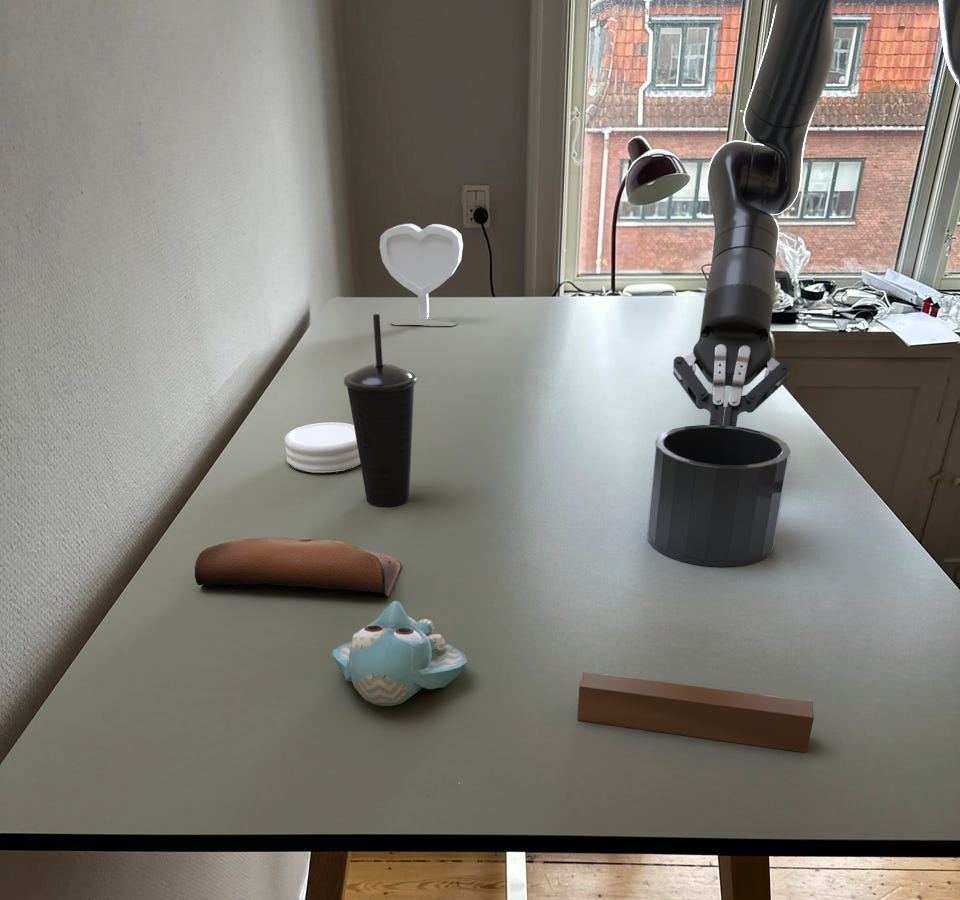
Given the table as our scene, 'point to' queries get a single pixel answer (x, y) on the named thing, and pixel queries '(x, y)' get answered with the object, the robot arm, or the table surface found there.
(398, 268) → the heart sculpture
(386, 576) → the sunglasses case
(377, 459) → the drinking cup
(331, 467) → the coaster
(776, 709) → the block
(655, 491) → the pot
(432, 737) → the table surface
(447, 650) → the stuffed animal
